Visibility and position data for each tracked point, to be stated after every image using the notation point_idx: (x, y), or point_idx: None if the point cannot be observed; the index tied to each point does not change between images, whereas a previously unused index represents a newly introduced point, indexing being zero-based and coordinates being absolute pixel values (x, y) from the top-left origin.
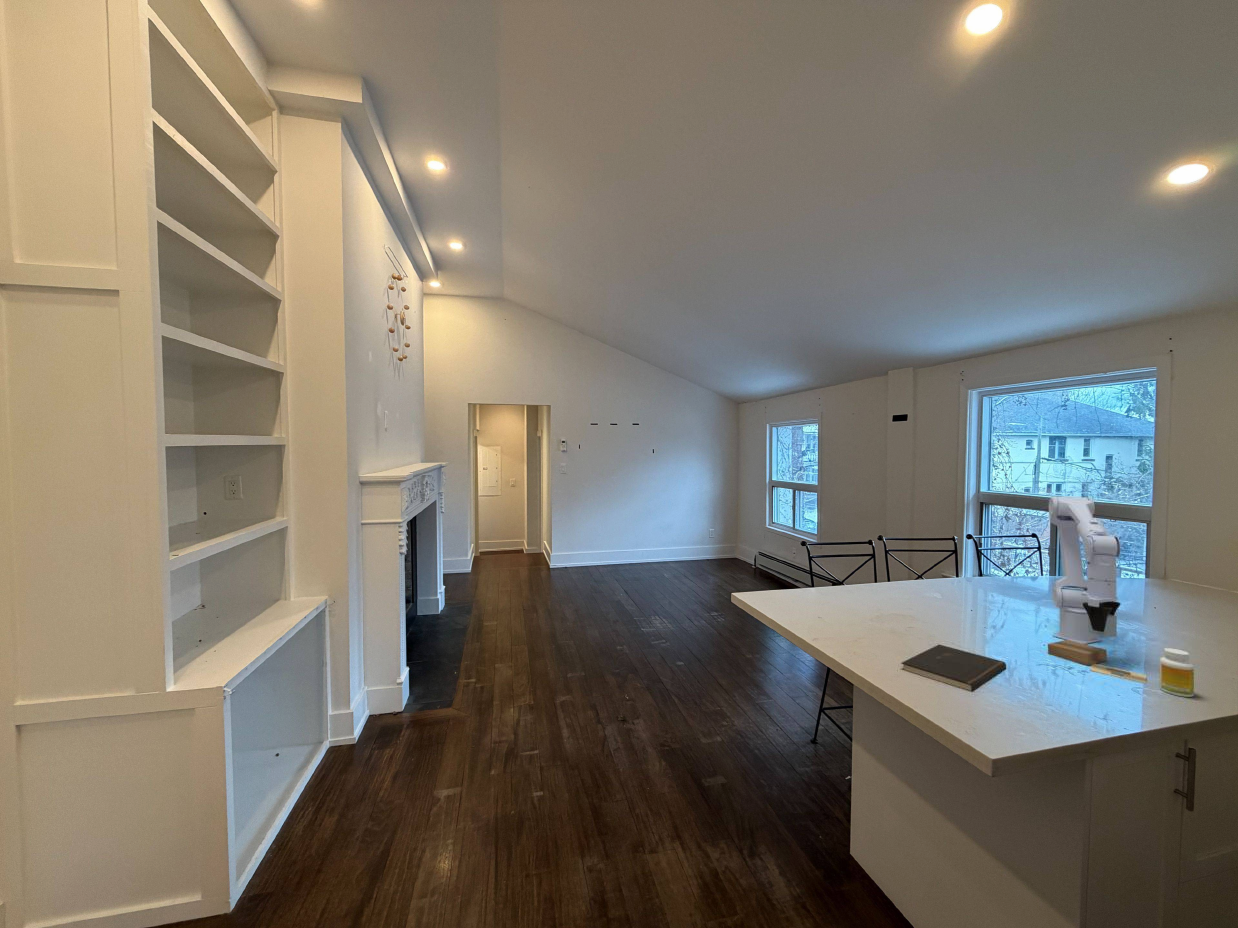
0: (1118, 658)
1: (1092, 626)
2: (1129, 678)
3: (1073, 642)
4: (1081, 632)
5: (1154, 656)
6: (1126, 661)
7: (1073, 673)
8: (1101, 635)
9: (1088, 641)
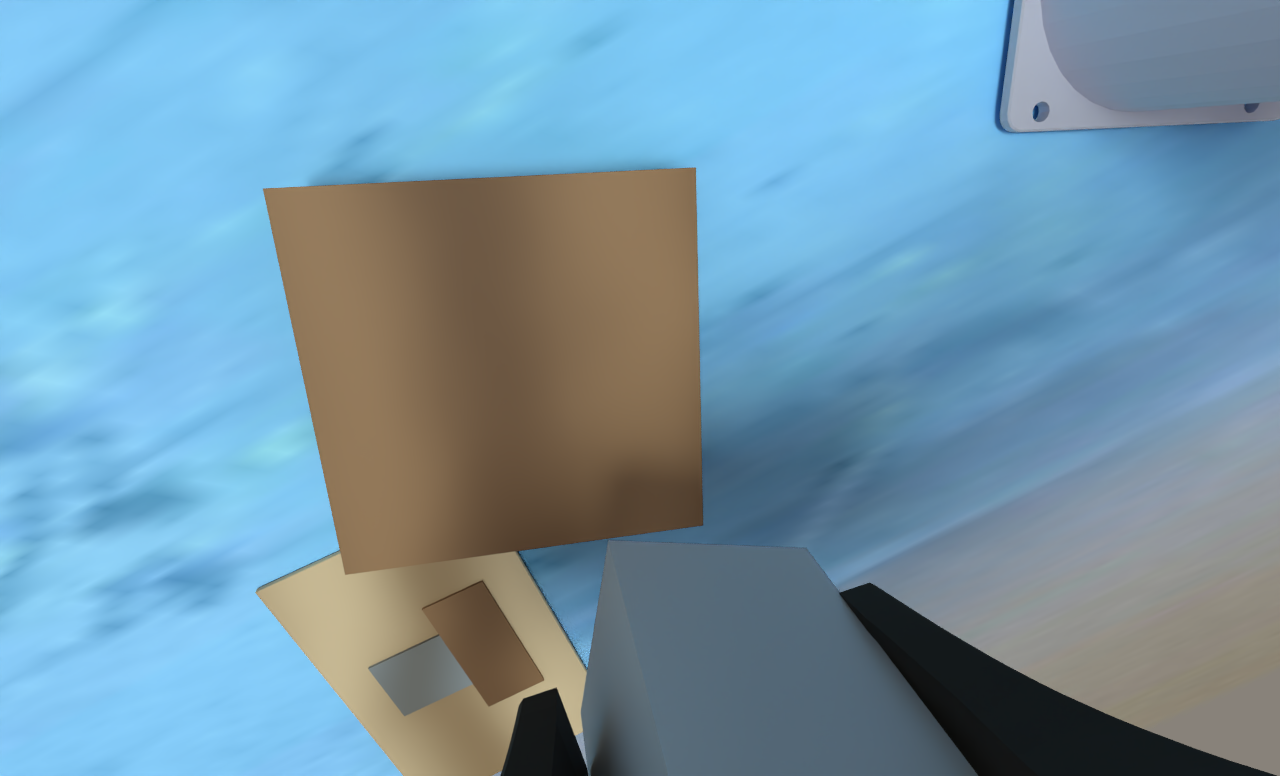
0: (849, 449)
1: (515, 743)
2: (402, 745)
3: (657, 264)
4: (1150, 66)
5: (1137, 482)
6: (825, 506)
7: (23, 601)
8: (586, 691)
9: (1108, 113)
